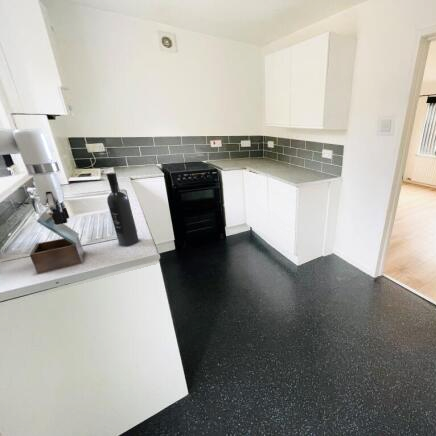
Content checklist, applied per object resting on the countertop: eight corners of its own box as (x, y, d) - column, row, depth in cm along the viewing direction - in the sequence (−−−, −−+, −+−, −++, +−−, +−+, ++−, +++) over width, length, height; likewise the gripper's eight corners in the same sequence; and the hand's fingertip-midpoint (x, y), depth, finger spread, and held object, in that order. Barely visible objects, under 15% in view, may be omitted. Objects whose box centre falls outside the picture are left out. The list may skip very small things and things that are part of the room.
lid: (36, 221, 78) (51, 210, 79) (42, 213, 86) (55, 203, 87) (74, 244, 85) (87, 234, 87) (76, 235, 93) (88, 226, 95)
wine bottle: (128, 248, 100) (109, 175, 90) (118, 246, 102) (98, 174, 92) (140, 242, 105) (123, 172, 95) (130, 240, 107) (112, 172, 97)
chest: (38, 275, 82) (29, 254, 79) (44, 262, 90) (36, 243, 87) (82, 264, 88) (75, 245, 86) (84, 253, 96) (78, 235, 94)
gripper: (33, 167, 84) (52, 217, 90) (20, 173, 71) (43, 231, 77) (61, 165, 88) (78, 213, 94) (54, 170, 75) (74, 225, 81)
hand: (62, 220), depth 86 cm, fingers closed on lid, 5 cm apart
